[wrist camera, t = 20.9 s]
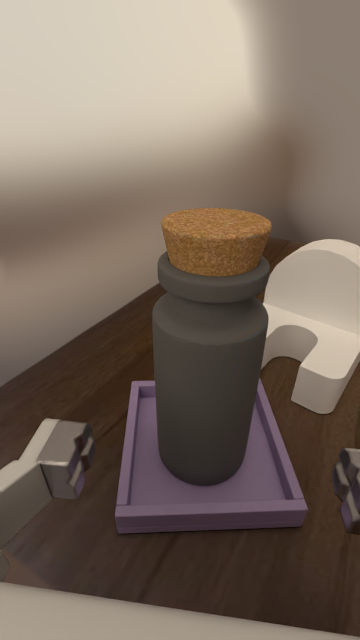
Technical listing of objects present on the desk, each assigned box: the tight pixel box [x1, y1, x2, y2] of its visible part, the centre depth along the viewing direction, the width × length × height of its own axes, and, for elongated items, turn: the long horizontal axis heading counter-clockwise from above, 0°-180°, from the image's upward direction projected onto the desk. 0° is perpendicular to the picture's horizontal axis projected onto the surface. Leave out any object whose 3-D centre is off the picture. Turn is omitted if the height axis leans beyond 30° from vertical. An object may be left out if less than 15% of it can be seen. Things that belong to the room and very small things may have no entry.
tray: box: [115, 378, 308, 534], centre depth 22 cm, size 10×10×2 cm
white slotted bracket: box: [261, 239, 360, 414], centre depth 30 cm, size 10×18×10 cm, turn 141°
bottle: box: [152, 208, 272, 486], centre depth 18 cm, size 6×6×15 cm
